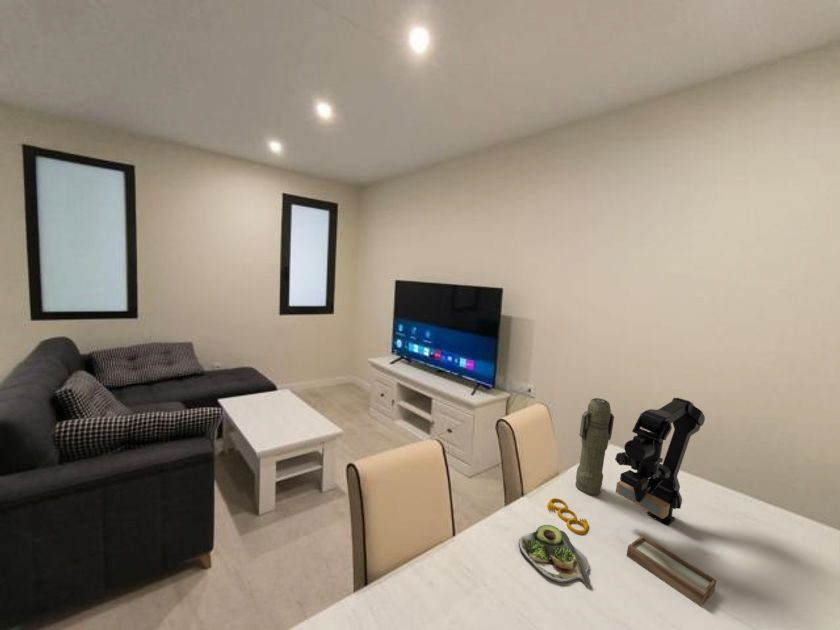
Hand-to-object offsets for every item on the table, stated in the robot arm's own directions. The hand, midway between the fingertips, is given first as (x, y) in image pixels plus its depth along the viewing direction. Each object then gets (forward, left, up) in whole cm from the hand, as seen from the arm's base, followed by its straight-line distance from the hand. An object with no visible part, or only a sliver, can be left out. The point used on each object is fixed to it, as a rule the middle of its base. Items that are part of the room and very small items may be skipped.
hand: (641, 499), depth 111 cm
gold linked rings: (+13, -16, -12) cm, 24 cm away
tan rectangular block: (0, 0, -1) cm, 1 cm away
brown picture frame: (+8, +12, -12) cm, 19 cm away
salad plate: (+32, -8, -12) cm, 35 cm away
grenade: (-9, -22, -12) cm, 26 cm away
